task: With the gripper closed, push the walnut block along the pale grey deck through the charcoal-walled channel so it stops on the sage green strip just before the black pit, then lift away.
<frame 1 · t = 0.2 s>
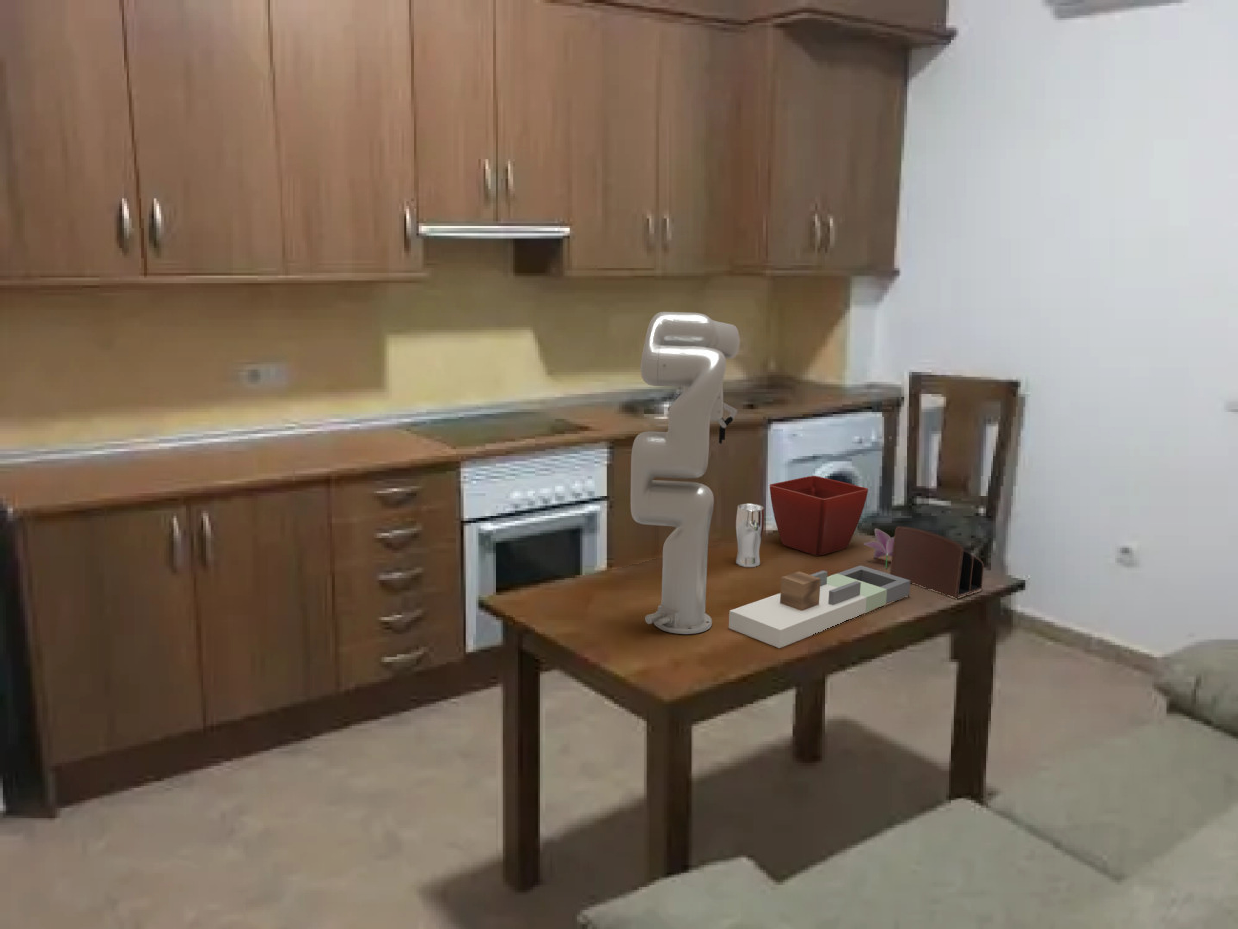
hand: (701, 441, 264), 31 cm above the table, tool pointing down, fingers open, 9 cm apart
letter holder: (934, 585, 256), on the table
walnut block: (799, 603, 230), point 4 cm above the table, touching channel deck
plant pot: (814, 547, 284), on the table
channel deck: (822, 611, 237), on the table
beer glass: (747, 564, 269), on the table
lily: (887, 565, 270), on the table
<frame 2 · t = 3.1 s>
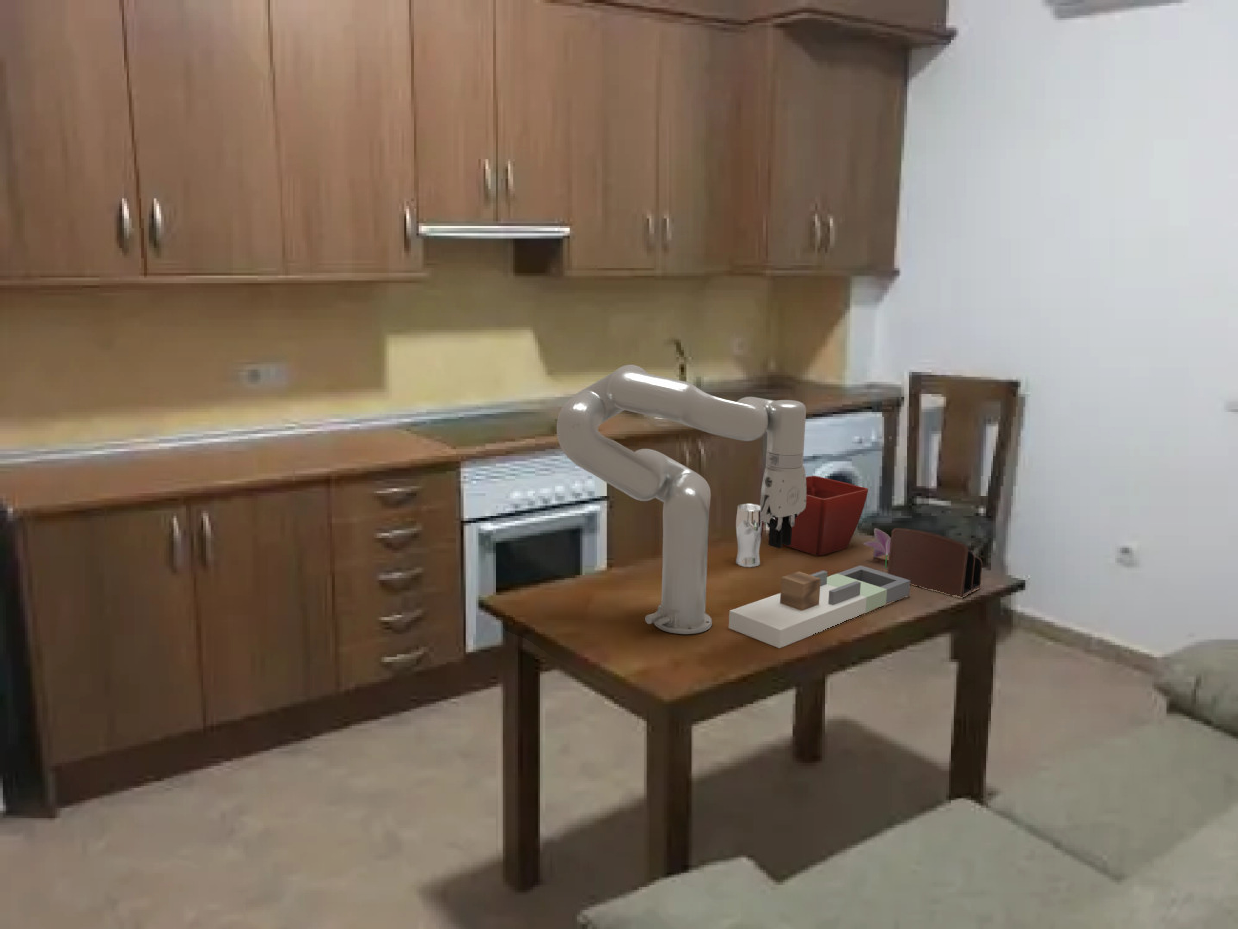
hand: (779, 544, 221), 19 cm above the table, tool pointing down, fingers closed
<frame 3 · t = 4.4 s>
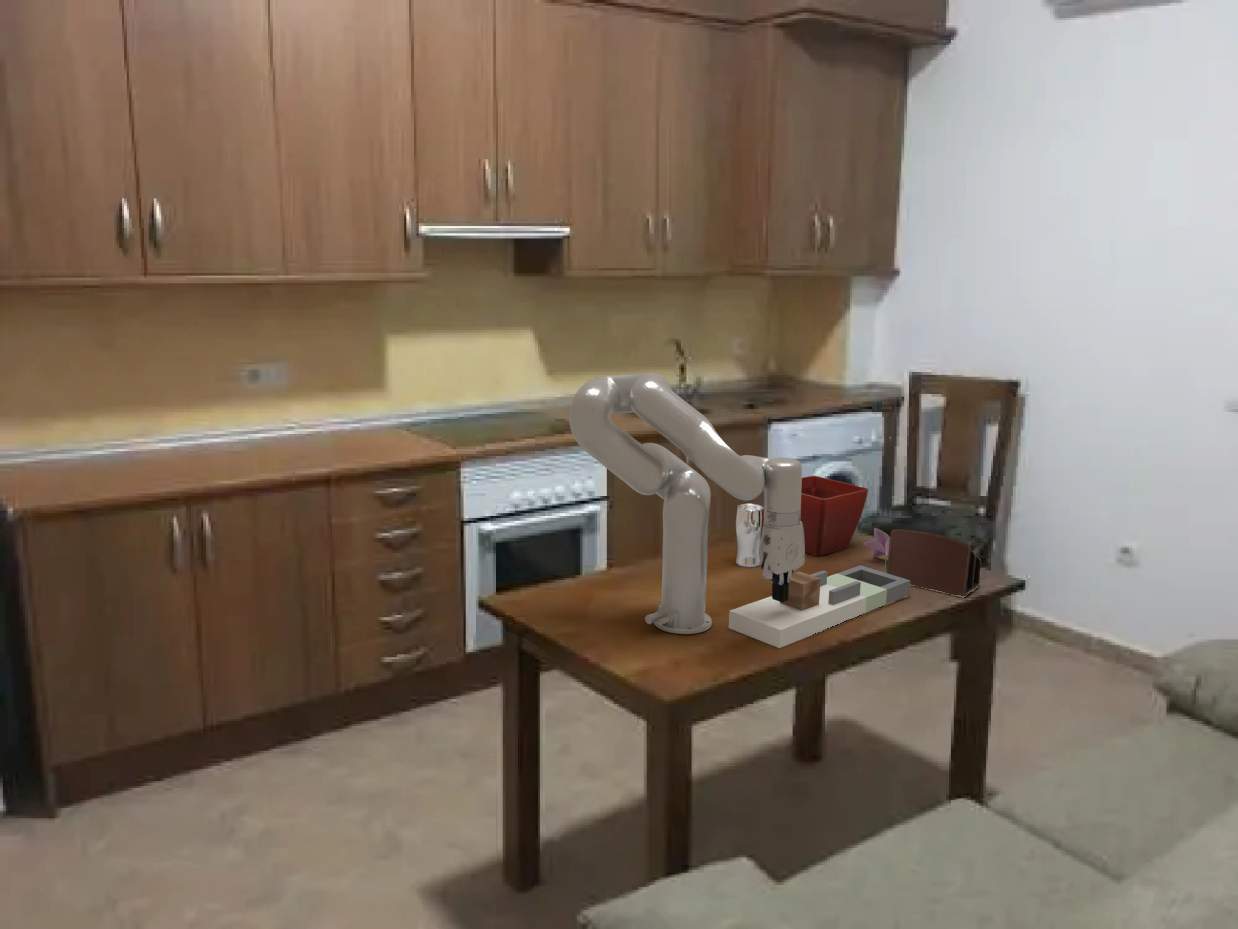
hand: (780, 599, 224), 7 cm above the table, tool pointing down, fingers closed
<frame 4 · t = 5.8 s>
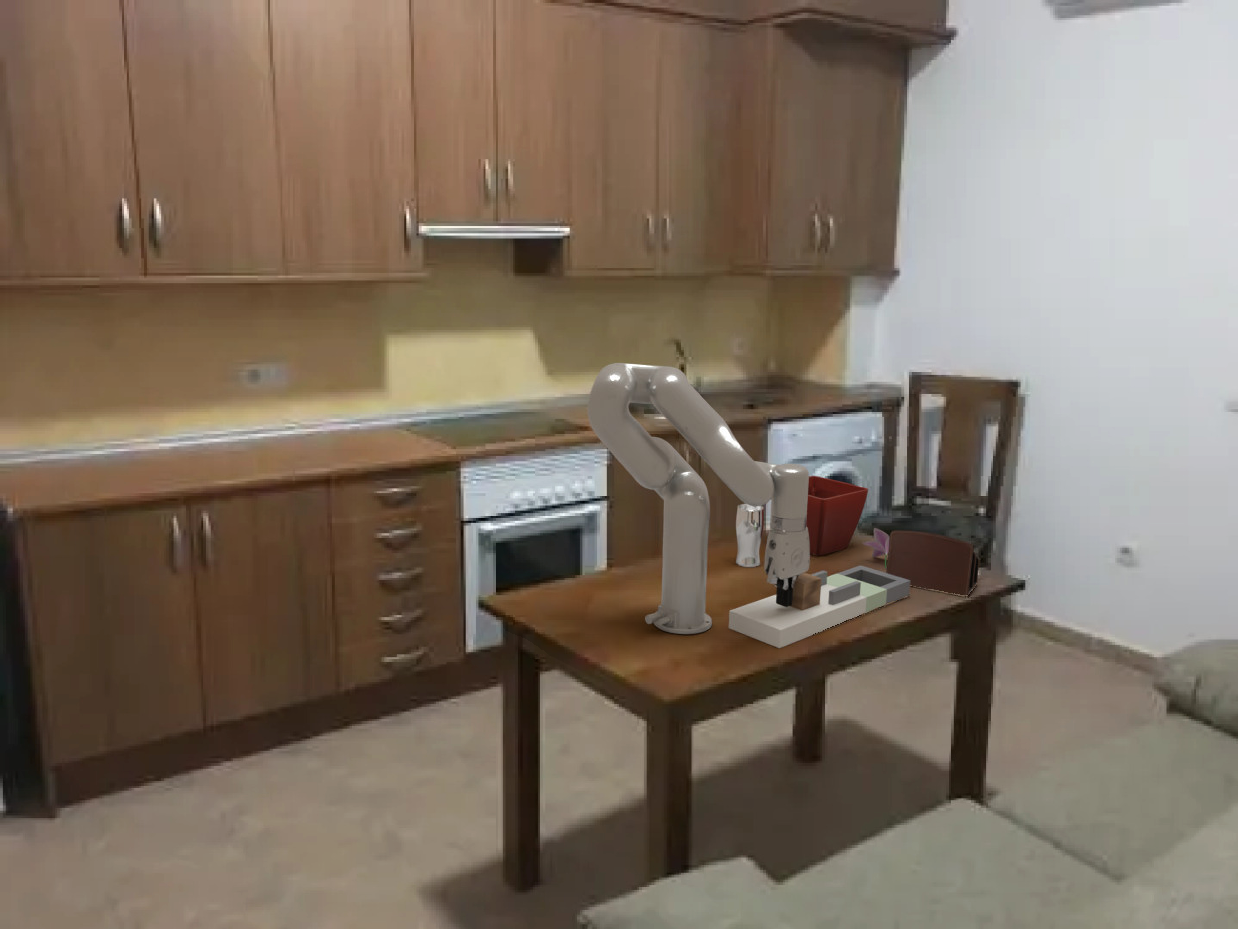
hand: (784, 604, 226), 5 cm above the table, tool pointing down, fingers closed
walnut block: (800, 603, 230), point 4 cm above the table, touching gripper
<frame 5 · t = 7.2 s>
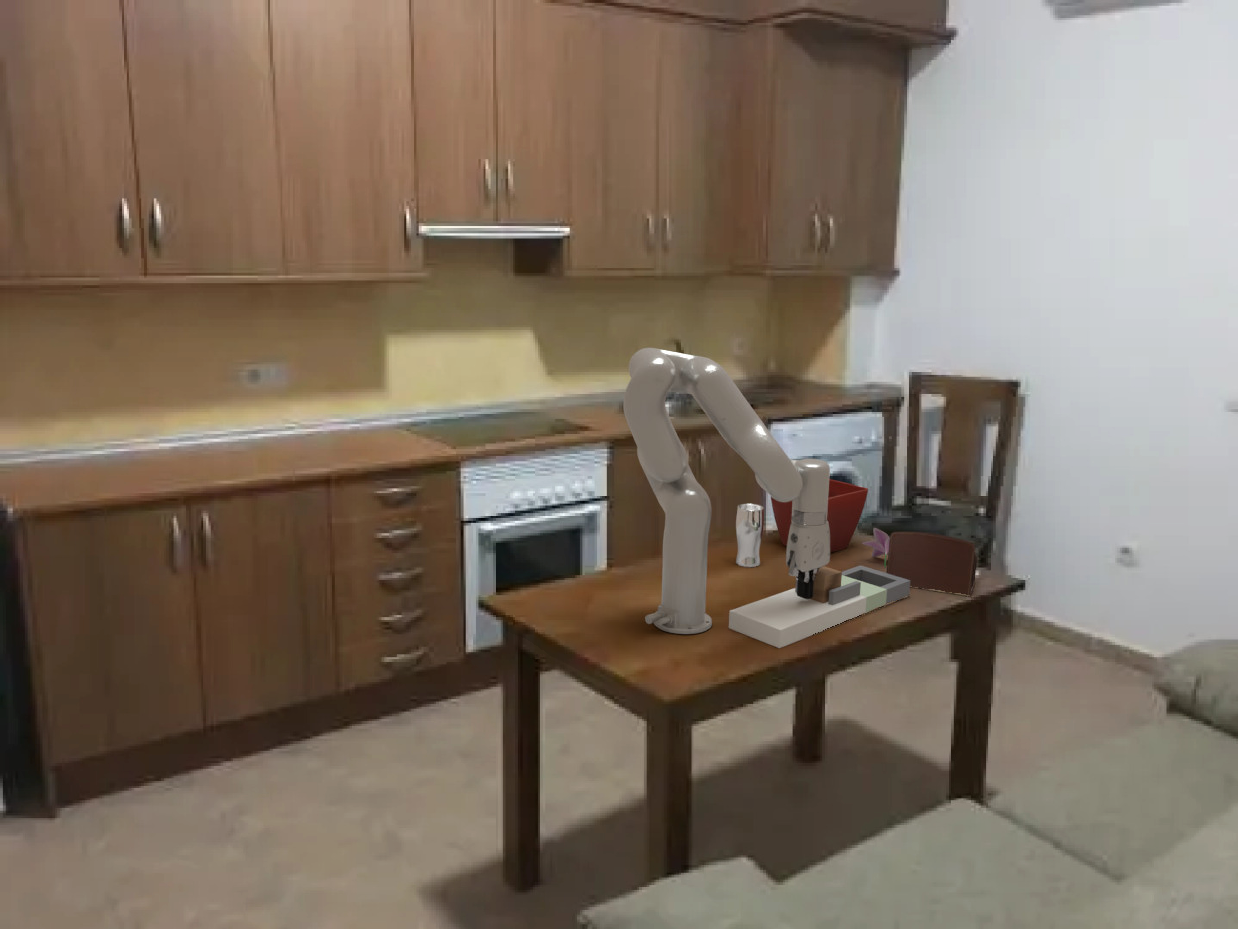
hand: (804, 596, 231), 5 cm above the table, tool pointing down, fingers closed
walnut block: (820, 596, 235), point 4 cm above the table, touching channel deck, gripper
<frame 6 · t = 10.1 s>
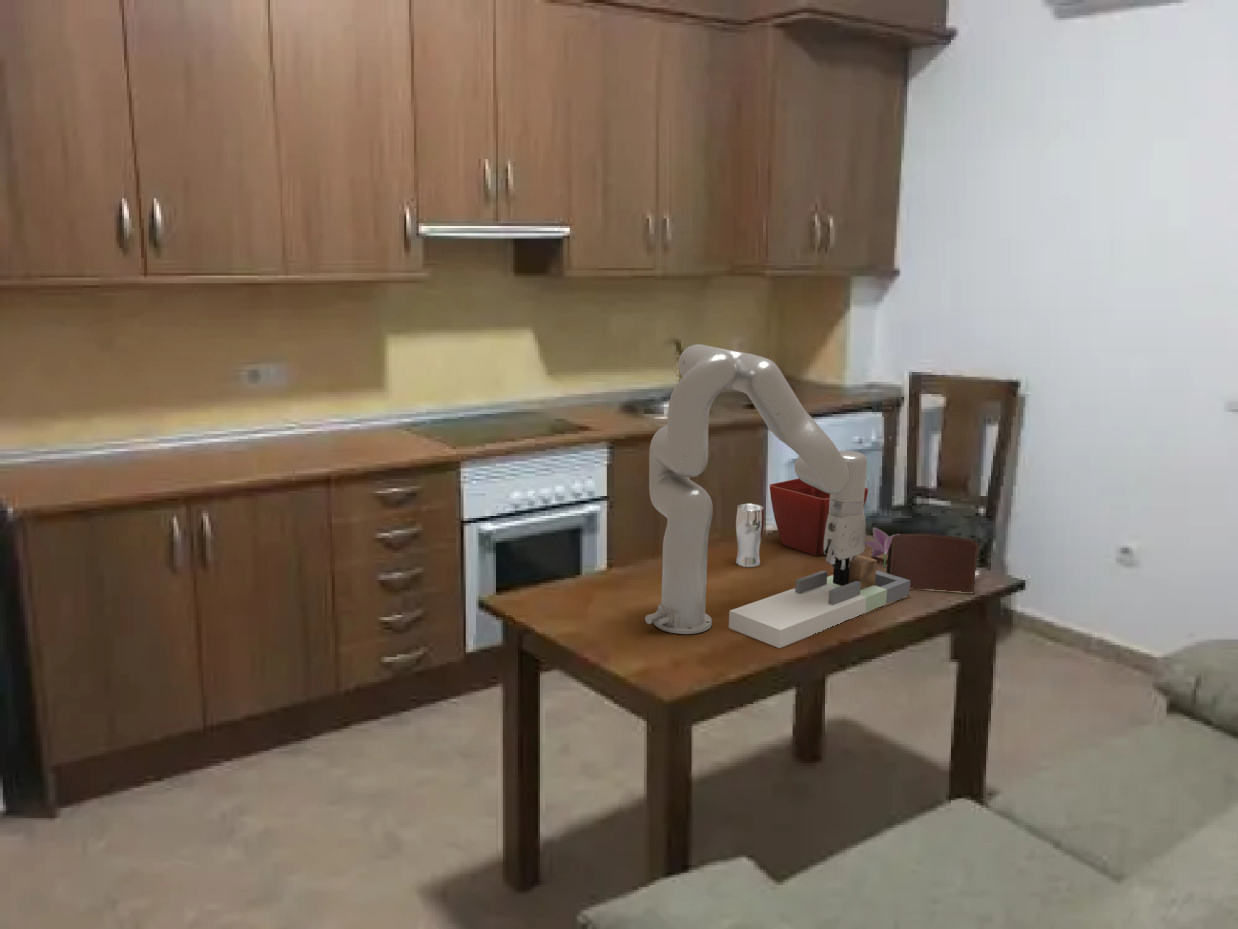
hand: (840, 584, 239), 5 cm above the table, tool pointing down, fingers closed
walnut block: (856, 584, 243), point 4 cm above the table, touching channel deck, gripper
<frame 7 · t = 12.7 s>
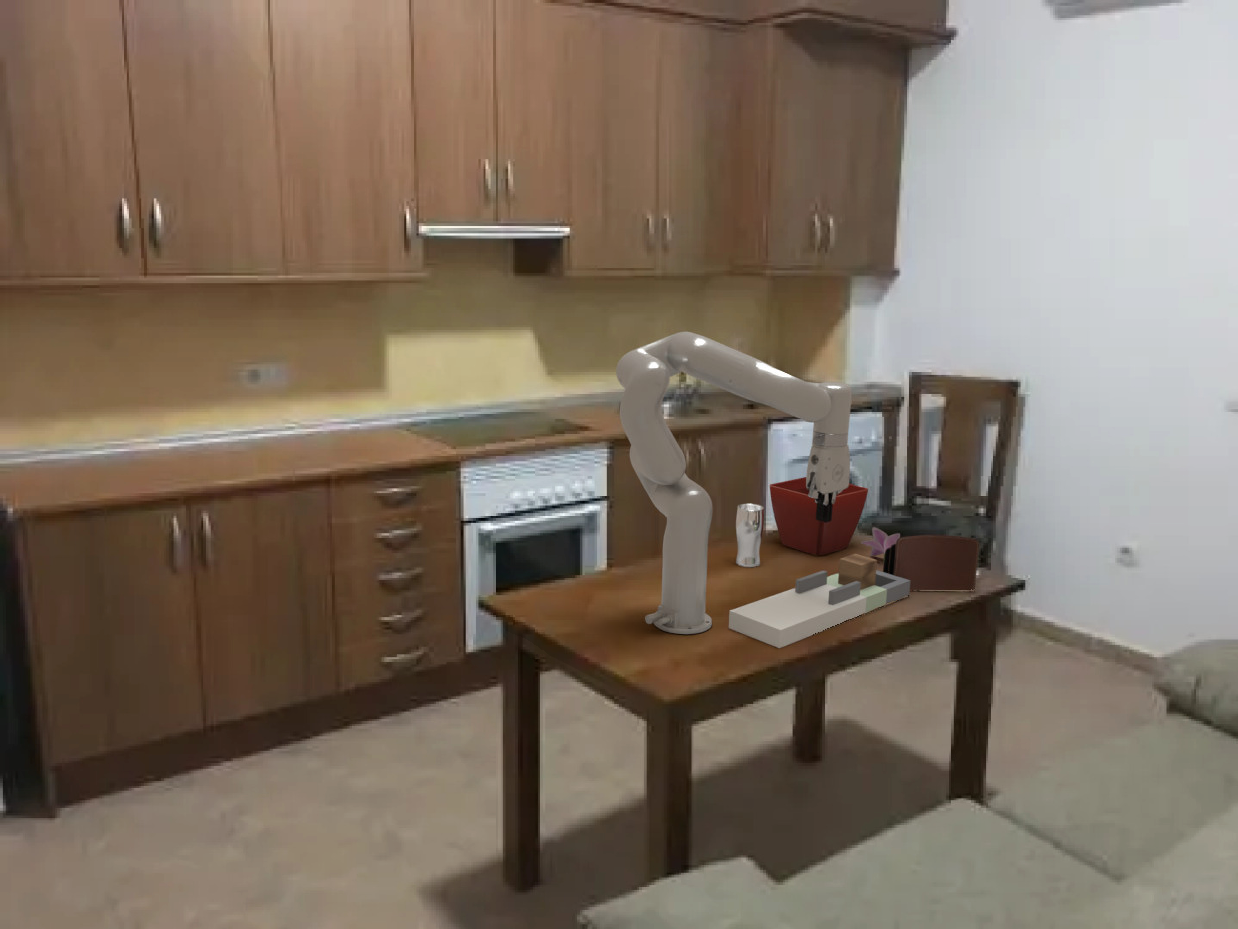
hand: (823, 520, 232), 21 cm above the table, tool pointing down, fingers closed
walnut block: (856, 584, 243), point 4 cm above the table, touching channel deck
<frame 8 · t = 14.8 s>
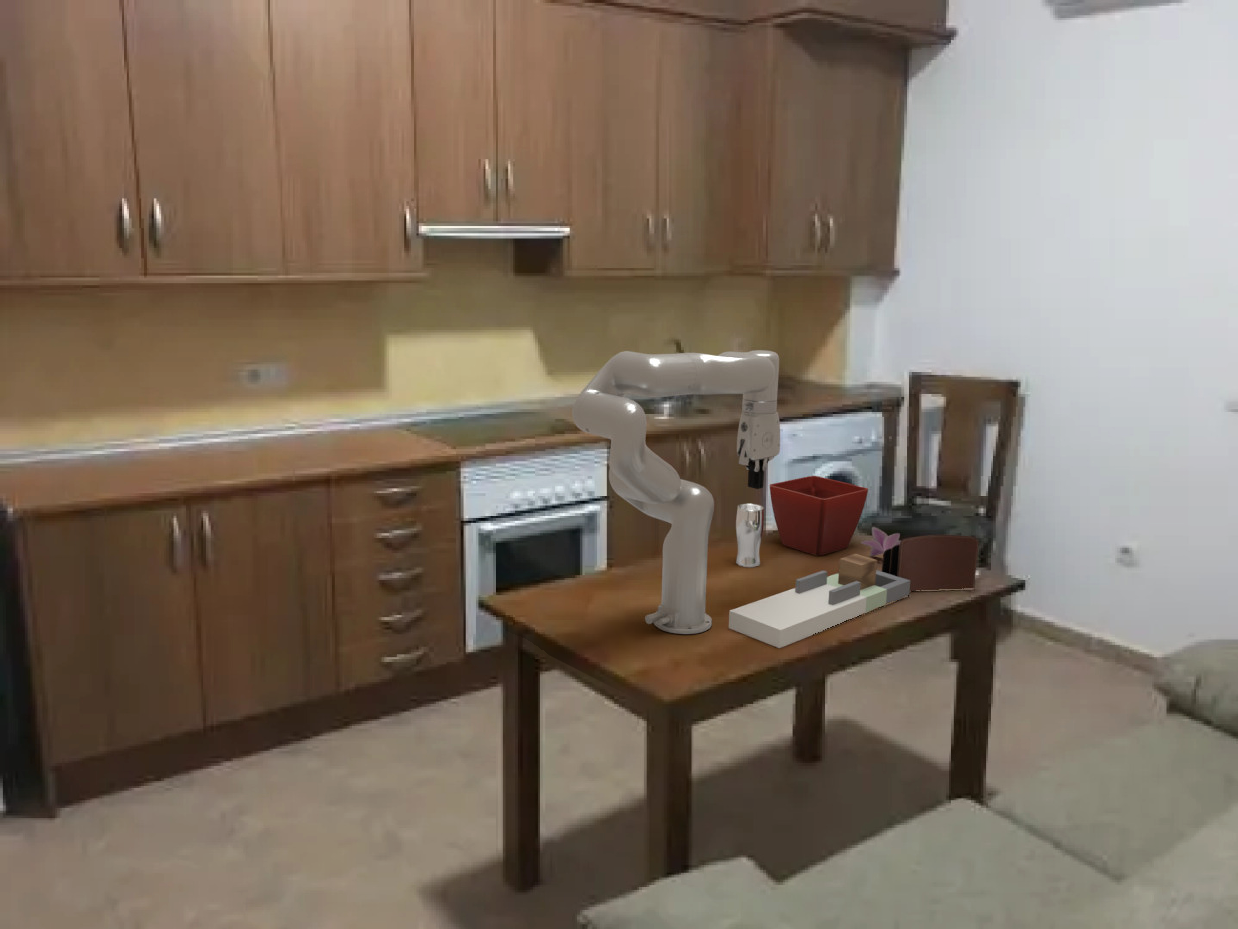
hand: (755, 487, 236), 27 cm above the table, tool pointing down, fingers closed
at the end: walnut block inside the target area (1.6 cm from its centre), point 4.0 cm above the table; walnut block tilted 0° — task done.
